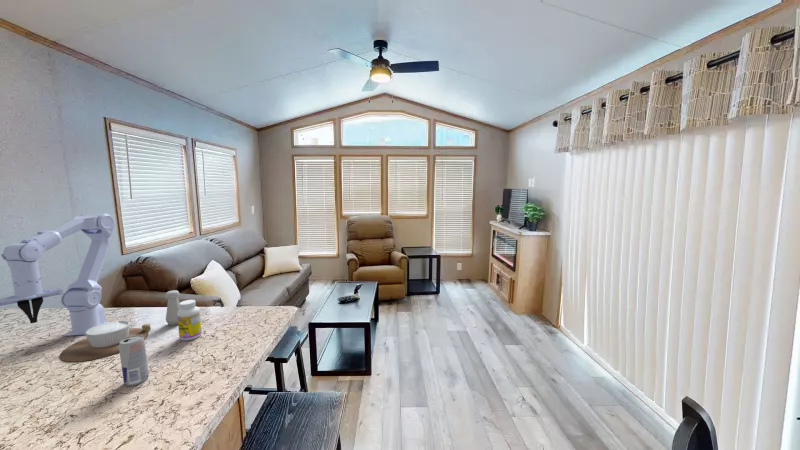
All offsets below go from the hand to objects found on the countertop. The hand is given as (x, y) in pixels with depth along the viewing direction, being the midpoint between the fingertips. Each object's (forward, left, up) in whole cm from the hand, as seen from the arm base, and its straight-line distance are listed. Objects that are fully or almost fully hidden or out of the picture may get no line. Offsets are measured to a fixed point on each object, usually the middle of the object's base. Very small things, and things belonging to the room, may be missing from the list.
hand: (33, 322), depth 102 cm
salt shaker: (-15, +33, -11) cm, 38 cm away
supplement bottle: (-2, +44, -11) cm, 45 cm away
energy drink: (+23, +41, -11) cm, 48 cm away
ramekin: (-3, +19, -10) cm, 21 cm away
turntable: (-2, +18, -10) cm, 21 cm away
